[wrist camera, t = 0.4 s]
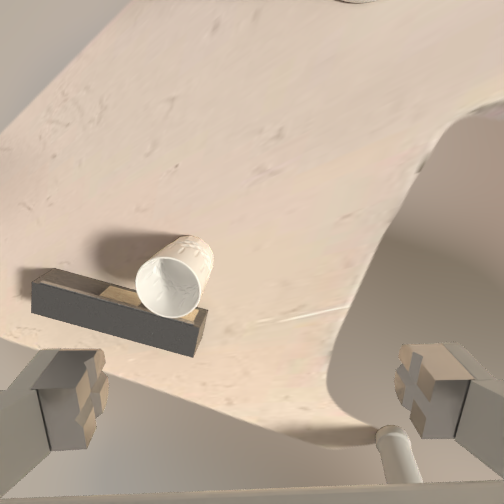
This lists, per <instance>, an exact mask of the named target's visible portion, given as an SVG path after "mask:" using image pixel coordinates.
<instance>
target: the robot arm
mask: <svg viewBox="0 0 504 504" xmlns="http://www.w3.org/2000/svg"><path fill="white" fill-rule="evenodd" d="M342 1H346V2H352V3H365V2H371V1H375V0H342ZM398 358H399V359H400V361H401V362H402V364H401V365H400V367H399V368H398V369H397V370H396V372H395V378H394V383H395V391H396V394H397V397H398V399H399V401H400V403H401V405H402V406H404V407H405V408H406V409H408V410H410V411H411V414H410V420H411V422H412V423H413V425H414V427H415V428H416V430H417V432H418V433H419V435H420V437H421V438H422V439H455V441H456V442H457V443H458V444H460V445H461V446H462V447H464V448H465V449H466V450H467V451H469V452H470V453H471V454H473V455H474V456H475V457H476V458H478V459H479V460H480V461H481V462H483V463H484V464H485V465H487V466H488V467H489V468H490V469H492V470H493V471H494V472H495V473H497V474H498V475H499V476H501V477H502V478H503V479H504V380H503V379H502V380H497V379H495V377H494V376H493V375H492V374H491V373H490V372H489V371H488V370H486V368H484V367H483V366H482V365H481V364H480V363H479V362H478V361H477V360H476V359H475V358H474V357H473V356H472V355H471V354H470V353H469V352H468V351H467V350H466V349H465V348H464V347H463V346H462V345H461V344H459V343H456V342H447V343H433V344H403V345H402V346H401V348H400V350H399V355H398ZM104 364H105V356H104V352H103V351H102V350H101V349H42V350H39V351H38V353H37V354H36V355H35V356H34V357H33V359H32V360H31V361H30V362H29V364H28V365H27V366H26V367H25V368H24V369H23V371H22V372H21V373H20V374H19V376H18V377H17V378H16V379H15V380H14V381H13V383H12V384H11V385H10V386H9V387H8V389H7V390H0V498H1V497H2V496H3V495H5V494H6V493H7V492H8V491H9V490H10V489H11V488H12V487H13V486H15V485H16V484H17V483H18V482H19V481H20V480H21V479H22V478H23V477H25V476H26V475H27V474H28V473H29V472H30V471H31V470H32V469H33V468H35V467H36V466H37V465H38V464H39V463H40V462H41V461H42V460H43V459H45V458H46V457H47V456H48V455H49V454H50V451H64V450H79V449H87V448H88V446H89V443H90V441H91V439H92V437H93V434H94V432H95V430H96V427H97V426H96V420H95V419H96V418H97V417H98V416H99V415H101V414H102V413H103V411H104V409H105V406H106V403H107V398H108V391H109V390H108V389H109V383H108V376H107V375H106V374H105V373H104V372H103V371H102V369H103V367H104ZM0 504H504V480H487V481H463V482H436V483H406V484H379V485H353V486H352V485H350V486H323V487H298V488H274V489H273V488H272V489H246V490H221V491H197V492H196V491H195V492H169V493H142V494H117V495H91V496H90V495H89V496H63V497H38V498H37V497H36V498H11V499H0Z"/></svg>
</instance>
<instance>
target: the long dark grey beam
mask: <svg viewBox="0 0 504 504" xmlns="http://www.w3.org/2000/svg"><path fill="white" fill-rule="evenodd" d="M31 313H34V314H38V315H41V316H45V317H48V318H52V319H56V320H59V321H63V322H66V323H70V324H74V325H77V326H81V327H84V328H88V329H92V330H95V331H99V332H102V333H106V334H110V335H113V336H117V337H120V338H124V339H128V340H131V341H135V342H138V343H142V344H146V345H149V346H153V347H156V348H160V349H164V350H167V351H171V352H174V353H178V354H182V355H185V356H189V357H192V358H193V357H194V355H195V353H196V350H197V348H198V346H199V343H200V341H201V339H202V335H203V331H204V326H205V322H206V317H207V313H208V310H205V309H202V308H198V307H196V308H195V309H194V310H193V311H192V312H190V313H189V314H187V315H185V316H183V317H179V318H166V317H162V316H159V315H157V314H155V313H153V312H151V311H150V310H149V309H148V308H146V307H145V306H144V304H143V303H142V302H141V300H140V299H139V297H138V295H137V292H136V290H132V289H129V288H125V287H121V286H118V285H114V284H110V283H107V282H103V281H99V280H96V279H92V278H88V277H85V276H81V275H78V274H74V273H70V272H67V271H63V270H59V269H56V268H54V269H52V270H51V271H49V272H47V273H46V274H44V275H43V276H41V277H39V278H38V279H36V280H34V281H33V282H32V303H31Z"/></svg>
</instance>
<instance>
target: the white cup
mask: <svg viewBox="0 0 504 504" xmlns="http://www.w3.org/2000/svg"><path fill="white" fill-rule="evenodd" d="M213 266H214V255H213V253H212V251H211V248H210V246H209V245H208V244H207V243H205V242H204V241H203V240H202V239H200V238H197V237H194V236H183V237H179V238H178V239H176V240H175V241H174V242H172V243H170V244H168V245H167V246H166V247H164V248H163V249H162V250H160V251H159V252H158V253H156V254H155V255H154V256H153V257H151V258H150V259H149V260H148V261H146V262H145V263H144V264H143V265H142V266H141V267H140V269H139V270H138V272H137V275H136V279H135V287H136V292H137V295H138V297H139V299H140V300H141V302H142V303H143V304H144V306H145V307H146V308H148V309H149V310H150V311H151V312H153V313H155V314H157V315H159V316H162V317H166V318H179V317H183V316H185V315H187V314H189V313H190V312H192V311H193V310H194V309H195V308H196V306H197V305H198V303H199V301H200V298H201V296H202V294H203V292H204V289H205V287H206V285H207V282H208V279H209V277H210V273H211V270H212V268H213Z"/></svg>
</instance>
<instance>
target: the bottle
mask: <svg viewBox="0 0 504 504" xmlns="http://www.w3.org/2000/svg"><path fill="white" fill-rule="evenodd" d="M376 446H377V449H378V451H379V453H380V455H381V460H382V464H383V469H384V474H385V478H386V483H387V484H406V483H423V480H422V477H421V475H420V472H419V469H418V466H417V464H416V461H415V458H414V456H413V453H412V450H411V442H410V439H409V437H408V435H407V434H406V432H405V431H404V430H403V429H402V428H401V427H399V426H395V425H387V426H384V427H382V428H380V429H379V430H378V431H377V433H376Z"/></svg>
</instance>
